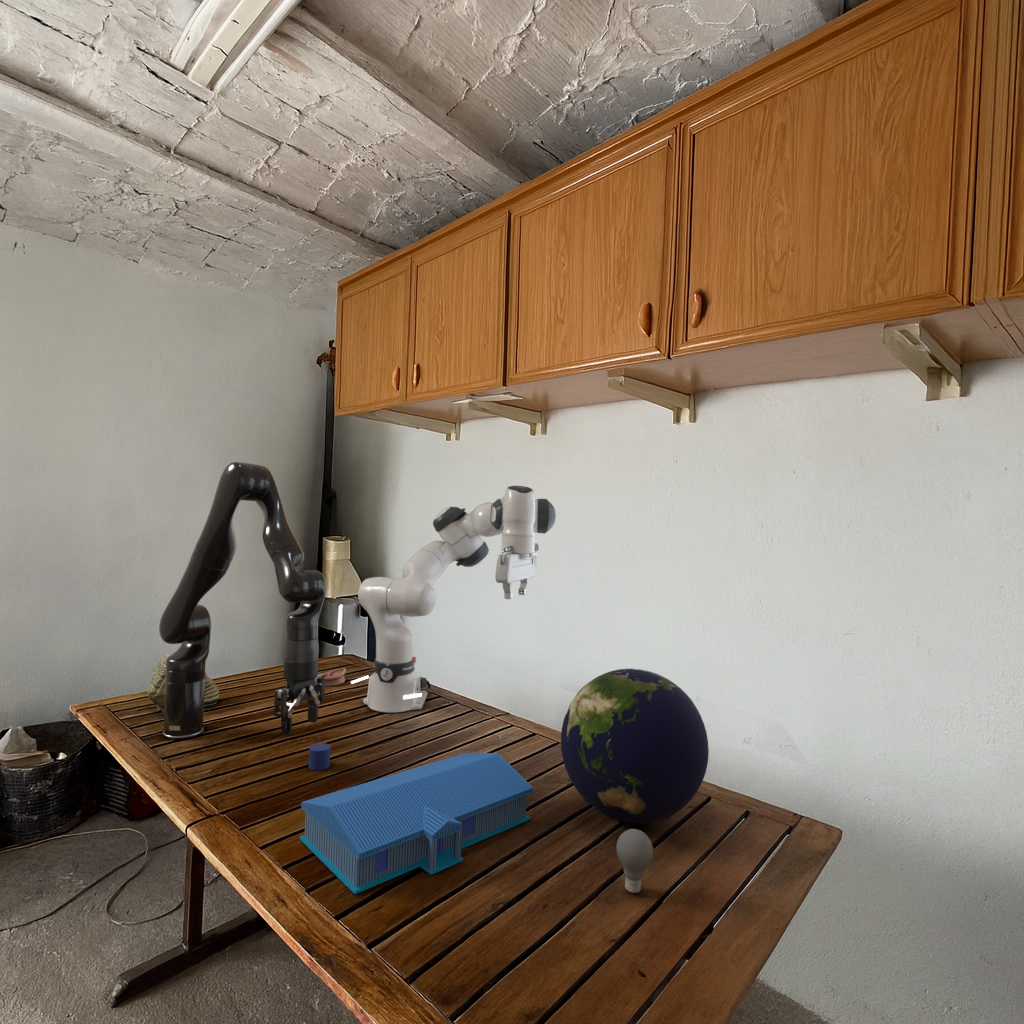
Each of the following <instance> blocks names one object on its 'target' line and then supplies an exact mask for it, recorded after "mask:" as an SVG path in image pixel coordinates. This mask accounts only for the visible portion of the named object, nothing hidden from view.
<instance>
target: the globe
mask: <svg viewBox="0 0 1024 1024" xmlns="http://www.w3.org/2000/svg"><path fill="white" fill-rule="evenodd" d="M562 722H563V723H562V727H561V733H560V748H561V756H562V762H563V765H564V768H565V770H566V773H567V775H568V778H569V780H570V782H571V783H572V785H573V786H574V788H575V790H576V791H577V792H578V794H579V795H580V796H581V797H582V798H583V799H584V800H585V801H586V802H587V804H589V805H590V806H591V807H593V808H594V809H595V810H596V811H598V812H600V813H601V814H603V815H605V816H607V817H609V818H611V819H613V820H617V821H619V822H624V823H630V824H648V823H649V824H650V823H654V822H659V821H662V820H665V819H667V818H670V817H671V816H673V815H675V814H677V813H678V812H680V811H681V810H682V809H683V808H685V807H686V806H687V805H688V804H689V803H690V802H691V800H692V799H693V798H694V797H695V795H696V794H697V792H698V791H699V789H700V787H701V786H702V784H703V781H704V779H705V777H706V776H705V775H706V773H707V768H708V764H709V756H710V755H709V752H710V751H709V739H708V732H707V728H706V726H705V723H704V720H703V717H702V714H700V712H699V709H698V708H697V706H696V704H695V703H694V701H693V700H692V698H691V697H689V695H688V694H687V693H686V692H685V691H684V690H683V689H682V688H681V687H680V686H678V685H677V684H676V683H675V682H673V681H671V680H670V679H669V678H666V677H665V676H663V675H661V674H658V673H657V672H653V671H650V670H645V669H641V668H619V669H615V670H611V671H607V672H604V673H602V674H601V675H598V676H596V677H594V678H593V679H591V680H590V681H588V682H587V683H586V684H585V685H583V686H582V687H581V689H579V691H578V692H577V693H576V694H575V695H574V697H573V699H572V700H571V702H570V703H569V705H568V707H567V709H566V711H565V715H564V718H563V721H562Z"/></svg>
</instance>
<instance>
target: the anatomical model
mask: <svg viewBox="0 0 1024 1024" xmlns="http://www.w3.org/2000/svg"><path fill="white" fill-rule="evenodd" d="M346 672H347V669H346V668H345V667H340V668H336V669H333V670H329V671H326V672H321V673H318V676H322V677H324V678H325V687H329V686H336V685H341V684H343V683H345V681H346V678H345V675H346Z"/></svg>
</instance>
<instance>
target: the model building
mask: <svg viewBox="0 0 1024 1024" xmlns="http://www.w3.org/2000/svg"><path fill="white" fill-rule="evenodd" d="M533 793H534V787H533V786H532V785H531V784H530V783H529V782H528V781H527V780H526V779H525V778H524V777H523V776H522V775H521V774H520V773H519V772H518V771H517V770H516V769H515V768H514V767H513V766H512V765H511V764H510V763H509V762H508V761H507V760H506V759H505V758H504V757H503V756H502V755H501V754H500V753H497V752H464V753H460V754H457V755H454V756H451V757H447V758H444V759H441V760H438V761H434V762H431V763H427V764H424V765H421V766H418V767H414V768H411V769H407V770H404V771H401V772H398V773H394V774H390V775H388V776H384V777H381V778H377V779H374V780H371V781H368V782H367V781H366V782H364V783H360V784H358V785H354V786H351V787H347V788H344V789H341V790H337V791H334V792H330V793H327V794H324V795H321V796H318V797H317V796H316V797H314V798H310V799H308V800H303V801H301V803H300V805H301V806H300V808H301V809H302V810H303V811H304V812H305V815H304V816H305V817H304V821H305V822H304V834H303V835H300V836H299V840H300V841H301V842H302V843H303V844H304V845H305V846H306V847H307V848H308V849H309V850H310V852H312V853H313V854H314V855H315V856H316V857H317V858H318V859H319V860H320V861H321V862H322V863H323V864H324V865H325V866H326V867H327V868H328V869H329V870H330V871H331V872H332V873H333V874H334V875H335V876H336V877H337V878H338V879H339V880H340V881H341V883H343V884H344V886H346V887H347V889H349V890H350V891H351V892H352V893H353V895H357V894H359V893H363V892H364V891H366V890H370V889H371V888H373V887H376V886H378V885H381V884H383V883H385V882H388V881H390V880H392V879H394V878H397V877H400V876H402V875H404V874H406V873H409V872H411V871H413V870H416V869H418V868H421V869H422V870H424V872H426V873H427V874H428V875H429V876H433V875H434V874H437V873H440V872H441V871H444V870H445V869H448V868H450V867H452V866H455V865H457V864H459V863H461V862H464V857H462V849H465V848H467V847H470V846H472V845H474V844H476V843H479V842H482V841H484V840H486V839H488V838H490V837H493V836H496V835H497V834H500V833H502V832H506V831H508V830H510V829H512V828H515V827H516V826H519V825H521V824H524V823H526V822H528V821H530V820H531V817H530V816H528V815H527V801H528V795H531V794H533Z"/></svg>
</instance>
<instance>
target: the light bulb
mask: <svg viewBox="0 0 1024 1024" xmlns="http://www.w3.org/2000/svg"><path fill="white" fill-rule="evenodd" d="M615 849H616V854H617V857H618V859H619V861H620V863H621V865H622V867H623V873H624V874H623V875H624V876H625V878H624V888H625V890H627V891H628V892H630V893H634V894H635V893H639V892H640V891H641V889H642V887H641V886H642V879H643V877H644V875H645V871H646V868H647V867H648V866H649V864H650V863H651V861H652V859H653V855H654V847H653V843H652V841H651V838H649V836H648V835H647V834H646V833H645V832H643V831H642V830H641V829H636V828H629V829H627V830H625V831H623V832H622V833H621V834H620V835H619V837H618V839H617V841H616V847H615Z"/></svg>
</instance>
